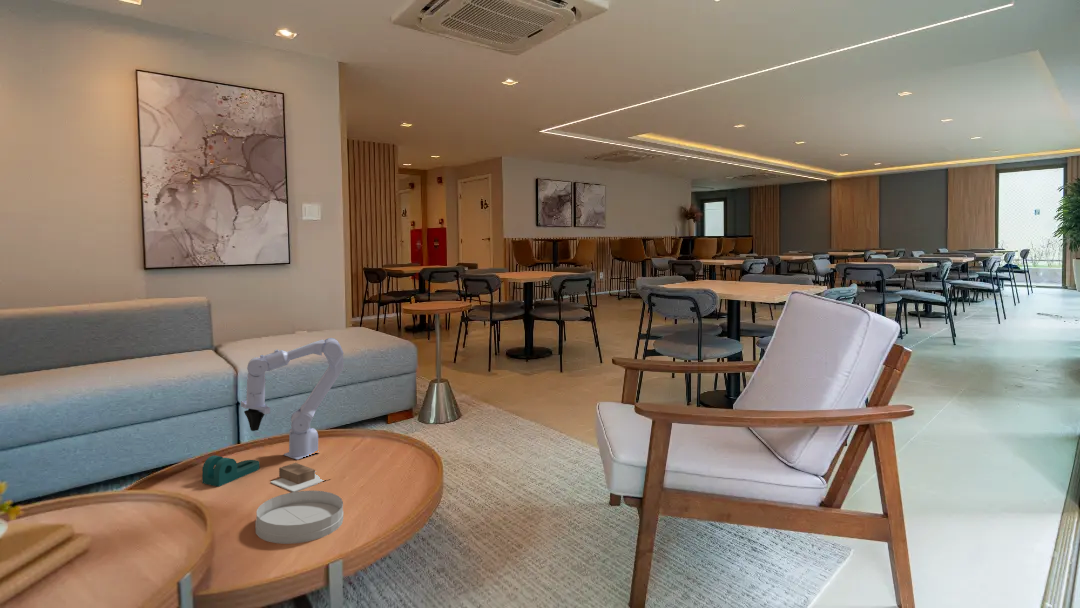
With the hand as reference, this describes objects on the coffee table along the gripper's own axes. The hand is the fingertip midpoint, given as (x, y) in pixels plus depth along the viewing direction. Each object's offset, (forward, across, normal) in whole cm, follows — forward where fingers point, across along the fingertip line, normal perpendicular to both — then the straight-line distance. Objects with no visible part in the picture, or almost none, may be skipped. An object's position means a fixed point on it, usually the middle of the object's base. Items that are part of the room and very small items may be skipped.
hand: (254, 430), depth 197 cm
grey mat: (+10, +29, -2) cm, 31 cm away
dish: (+11, +54, -20) cm, 59 cm away
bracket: (+11, +9, -12) cm, 18 cm away
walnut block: (+8, +22, -2) cm, 23 cm away
